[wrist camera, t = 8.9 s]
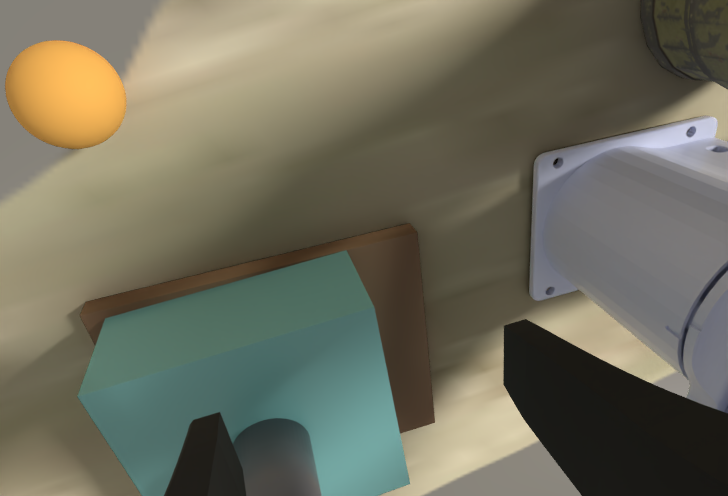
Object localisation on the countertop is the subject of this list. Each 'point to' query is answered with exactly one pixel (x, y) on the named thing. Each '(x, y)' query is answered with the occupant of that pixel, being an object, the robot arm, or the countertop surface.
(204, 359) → the cover
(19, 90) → the ball
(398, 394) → the walnut board
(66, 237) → the countertop surface
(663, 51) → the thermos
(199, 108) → the countertop surface
